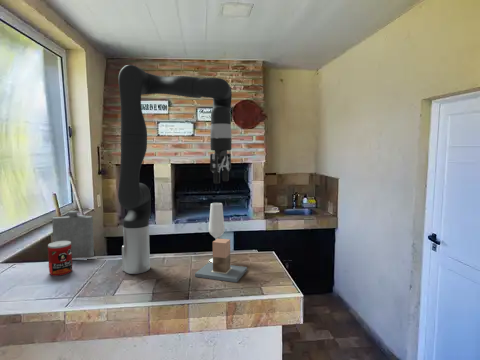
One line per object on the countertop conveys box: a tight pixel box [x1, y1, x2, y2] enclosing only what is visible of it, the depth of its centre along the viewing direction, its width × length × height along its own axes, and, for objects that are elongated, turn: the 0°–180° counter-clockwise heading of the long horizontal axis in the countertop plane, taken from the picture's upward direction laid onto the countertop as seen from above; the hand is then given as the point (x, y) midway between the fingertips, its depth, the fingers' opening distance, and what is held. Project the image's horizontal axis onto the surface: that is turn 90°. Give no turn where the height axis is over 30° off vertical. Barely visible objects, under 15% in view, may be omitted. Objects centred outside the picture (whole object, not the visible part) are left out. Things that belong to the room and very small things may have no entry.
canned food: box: [47, 241, 73, 277], centre depth 119 cm, size 8×8×11 cm
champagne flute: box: [208, 202, 226, 263], centre depth 130 cm, size 7×7×24 cm
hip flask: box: [51, 210, 95, 259], centre depth 135 cm, size 16×4×20 cm, turn 98°
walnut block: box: [212, 254, 231, 273], centre depth 117 cm, size 5×5×6 cm
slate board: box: [194, 262, 248, 283], centre depth 118 cm, size 16×12×1 cm
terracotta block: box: [212, 237, 231, 258], centre depth 117 cm, size 5×5×6 cm
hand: (221, 182), depth 115 cm, fingers open, 8 cm apart
